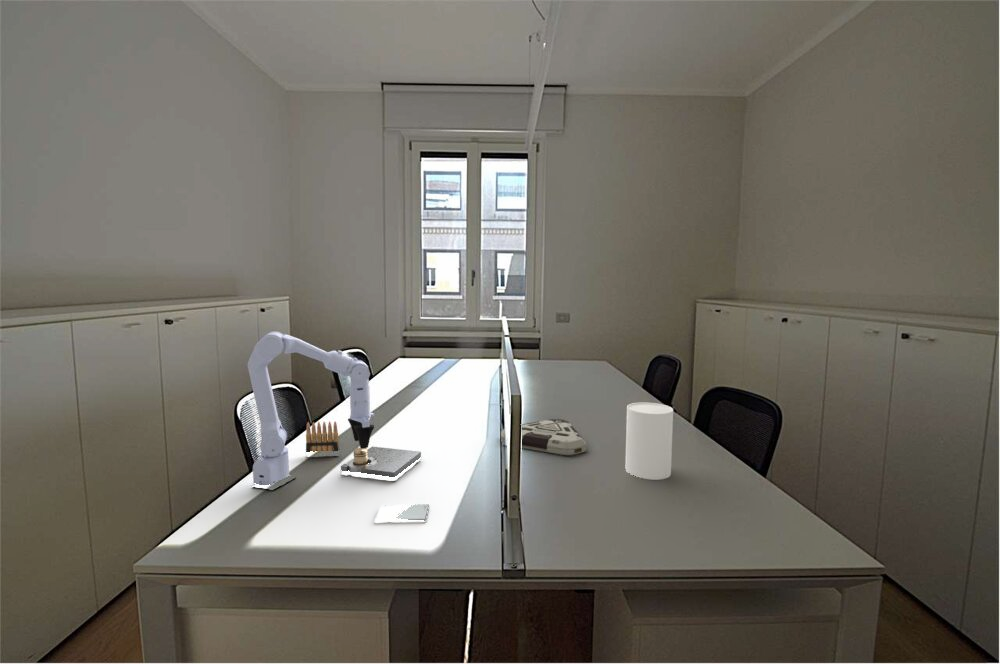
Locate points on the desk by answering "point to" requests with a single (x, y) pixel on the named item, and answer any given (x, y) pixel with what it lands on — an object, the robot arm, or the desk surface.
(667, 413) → the canister
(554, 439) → the device
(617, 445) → the desk surface
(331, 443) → the ammunition clip
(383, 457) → the grey plate with hole
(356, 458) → the cylinder
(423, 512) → the hard drive
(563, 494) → the desk surface
